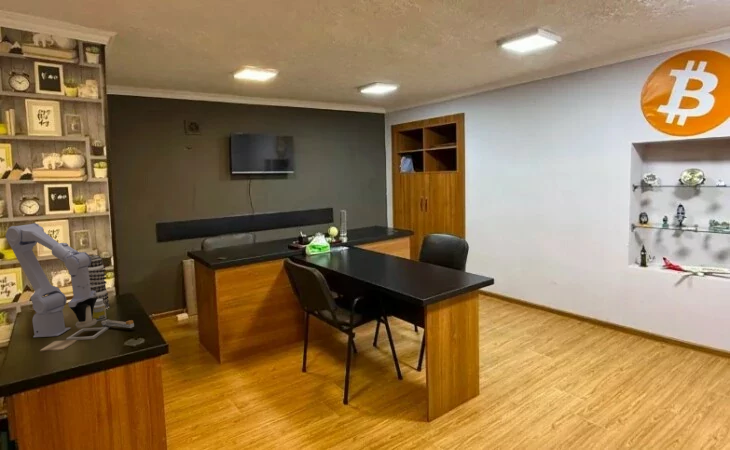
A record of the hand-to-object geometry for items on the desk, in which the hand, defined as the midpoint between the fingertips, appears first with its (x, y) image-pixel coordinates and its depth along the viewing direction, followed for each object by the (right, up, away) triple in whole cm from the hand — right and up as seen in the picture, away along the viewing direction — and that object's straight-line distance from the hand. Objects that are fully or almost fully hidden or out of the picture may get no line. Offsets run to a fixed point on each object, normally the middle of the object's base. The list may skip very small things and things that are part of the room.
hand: (85, 319), depth 164 cm
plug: (0, -2, 0) cm, 2 cm away
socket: (0, -6, +1) cm, 6 cm away
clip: (+9, -4, +5) cm, 11 cm away
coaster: (-4, -8, -9) cm, 13 cm away
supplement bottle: (-6, -4, +18) cm, 20 cm away
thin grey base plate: (+3, -5, +8) cm, 10 cm away
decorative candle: (-15, -3, +32) cm, 35 cm away
